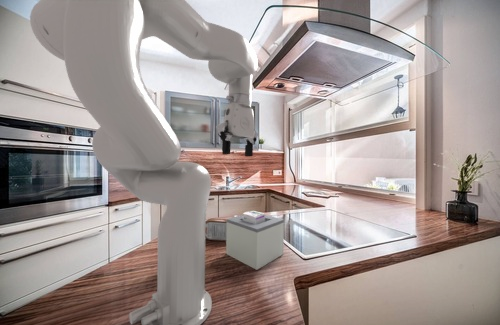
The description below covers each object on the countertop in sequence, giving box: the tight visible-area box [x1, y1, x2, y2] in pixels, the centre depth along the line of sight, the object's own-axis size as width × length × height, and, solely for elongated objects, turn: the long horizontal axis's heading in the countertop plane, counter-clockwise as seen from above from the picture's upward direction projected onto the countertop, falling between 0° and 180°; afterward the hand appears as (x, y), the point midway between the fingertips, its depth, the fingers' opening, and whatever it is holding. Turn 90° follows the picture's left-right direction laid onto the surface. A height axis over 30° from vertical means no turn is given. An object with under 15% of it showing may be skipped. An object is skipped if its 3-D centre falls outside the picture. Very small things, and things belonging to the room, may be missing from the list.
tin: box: [205, 217, 228, 242], centre depth 79 cm, size 15×3×8 cm, turn 84°
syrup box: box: [242, 210, 266, 225], centre depth 67 cm, size 6×6×14 cm
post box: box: [225, 214, 285, 271], centre depth 67 cm, size 14×14×12 cm
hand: (238, 155), depth 64 cm, fingers open, 9 cm apart
